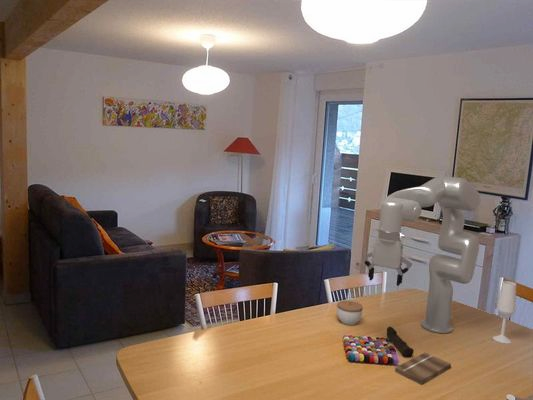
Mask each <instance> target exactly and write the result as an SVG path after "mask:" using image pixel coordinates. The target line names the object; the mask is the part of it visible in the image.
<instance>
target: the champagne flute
mask: <svg viewBox="0 0 533 400" xmlns="http://www.w3.org/2000/svg"><path fill="white" fill-rule="evenodd" d="M516 300H517V283H516V282H513V281H508V280H505V281H504V280H503V281H502V284H501V289H500V293H499V297H498V299H497V304H496V309H497V312H498V313H499V314H500V316H502V324H501V332H500V334H498V335H495V336H492V339H493V340H494V341H496V342H498V343H501V344H511V343H512V341H511V339H509V338H508V337H506V336H505V330H506V324H507V318H509V317H511V316H513V315H514V314H515V313H516V305H517V304H516V303H517V301H516Z"/></svg>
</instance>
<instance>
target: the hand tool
mask: <svg viewBox="0 0 533 400" xmlns="http://www.w3.org/2000/svg"><path fill="white" fill-rule="evenodd" d="M397 332H398V331H397V330H396V329H395V328H393V327H392V326H388V327H387V328H386V336H387V338H388V340H390V341H389V342H392V344H393V345H394V346H396V348H397V349H398V350H399V351H400V353H402V357H403V358H405V359H407V358H412V357H413V354H414V349H413V348H412V347H411V346H409V345H408V344H407V342H406V341H405V340H403V339H402V338H401V337H400V336H399V335H398V333H397Z"/></svg>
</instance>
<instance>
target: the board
mask: <svg viewBox="0 0 533 400" xmlns="http://www.w3.org/2000/svg"><path fill="white" fill-rule="evenodd" d="M451 365H452V364H451V363H450V362H448V361H446V360H444V359H441V358H439V357H436V356H435V355H433V354H429V353H428V352H423V353H421V354H419V355H417V356H415V357H413V358H411V359H409V360H407V361H406V362H404V363H401V364H399V365H397V366H396V367H395V368H394V373H397V374H398V375H401V376H403V377H405V378H407V379H409V380H410V381H413V382H415V383H417V384H420V385H423V384H425V383H427V382H429V381H430V380H432V379H433V378H436V377H437V376H438V375H439V376H440V375H441V374H442V373H444V372H445V371H447V370H449V369H451Z"/></svg>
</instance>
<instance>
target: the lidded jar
mask: <svg viewBox="0 0 533 400" xmlns="http://www.w3.org/2000/svg"><path fill="white" fill-rule="evenodd" d="M336 306H337V307H336V313H337V317H338V319H339V320H340V322H341V324H343V325H346V326H355V325H356V324H357V323H358V322H360V320H361V317H362V314H363V307H364V306H363V305H362V303H360V302H357V301H355V300H340V301H338V302H337V303H336Z"/></svg>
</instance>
